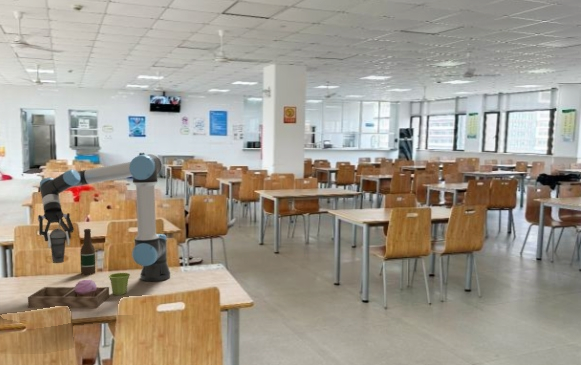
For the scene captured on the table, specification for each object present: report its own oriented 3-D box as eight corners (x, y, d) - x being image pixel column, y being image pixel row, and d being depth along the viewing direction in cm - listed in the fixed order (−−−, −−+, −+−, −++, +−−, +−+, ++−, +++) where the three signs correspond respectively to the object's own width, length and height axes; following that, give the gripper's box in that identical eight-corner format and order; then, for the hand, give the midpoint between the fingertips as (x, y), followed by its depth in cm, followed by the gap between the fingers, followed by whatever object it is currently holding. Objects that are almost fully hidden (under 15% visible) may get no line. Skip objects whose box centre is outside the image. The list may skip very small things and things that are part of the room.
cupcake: (70, 303, 214) (70, 281, 213) (85, 298, 222) (85, 276, 221) (86, 306, 210) (86, 283, 210) (101, 300, 219) (100, 278, 218)
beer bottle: (98, 273, 264) (97, 229, 262) (84, 276, 258) (83, 231, 256) (92, 270, 269) (91, 227, 267) (77, 273, 263) (76, 229, 261)
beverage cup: (53, 260, 230) (52, 218, 228) (69, 260, 230) (68, 218, 229) (46, 264, 223) (45, 220, 221) (63, 264, 223) (62, 220, 221)
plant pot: (108, 291, 232) (108, 273, 231) (129, 289, 235) (129, 271, 235) (109, 297, 223) (108, 278, 223) (130, 295, 227) (130, 276, 226)
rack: (109, 296, 224) (109, 287, 223) (97, 307, 209) (96, 297, 208) (45, 296, 223) (44, 286, 223) (28, 307, 208) (27, 297, 208)
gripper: (73, 209, 243) (81, 247, 231) (27, 212, 231) (34, 252, 219) (75, 199, 238) (83, 238, 226) (29, 202, 226) (35, 243, 215)
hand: (59, 245), depth 223 cm, fingers closed on beverage cup, 7 cm apart
